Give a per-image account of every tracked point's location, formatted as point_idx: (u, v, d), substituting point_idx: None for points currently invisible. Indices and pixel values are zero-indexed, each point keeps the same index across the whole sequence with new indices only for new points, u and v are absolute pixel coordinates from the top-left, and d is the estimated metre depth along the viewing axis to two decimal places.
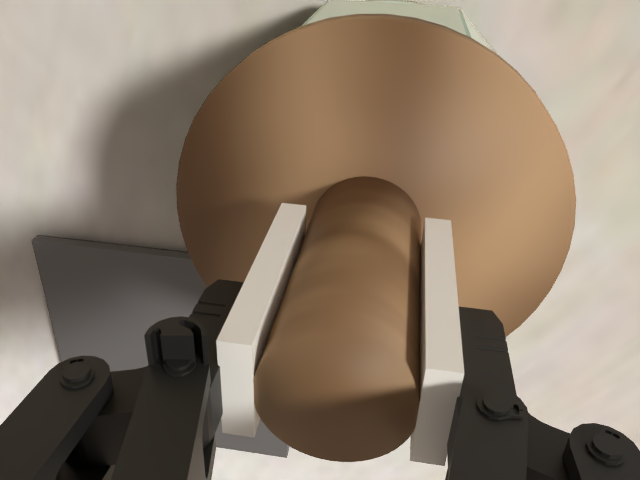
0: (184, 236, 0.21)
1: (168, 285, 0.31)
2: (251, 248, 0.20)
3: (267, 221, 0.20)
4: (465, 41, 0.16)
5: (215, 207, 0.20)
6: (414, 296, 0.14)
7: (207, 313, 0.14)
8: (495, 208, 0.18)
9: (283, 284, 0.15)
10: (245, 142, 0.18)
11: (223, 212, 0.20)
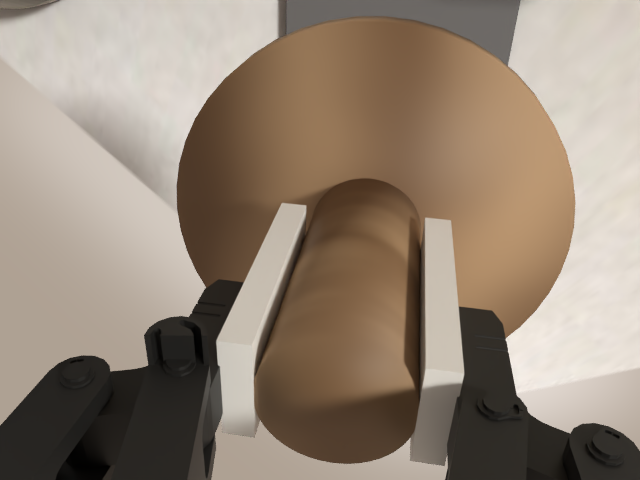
0: (184, 238, 0.21)
1: None
2: (251, 250, 0.20)
3: (267, 223, 0.20)
4: (464, 44, 0.16)
5: (215, 209, 0.20)
6: (414, 298, 0.14)
7: (207, 313, 0.14)
8: (494, 209, 0.18)
9: (283, 284, 0.15)
10: (245, 144, 0.19)
11: (223, 213, 0.20)
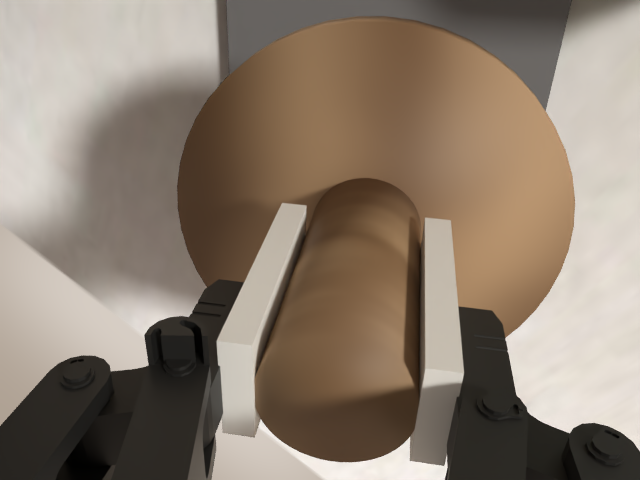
0: (185, 237, 0.21)
1: (401, 15, 0.24)
2: (251, 249, 0.21)
3: (267, 222, 0.20)
4: (464, 44, 0.16)
5: (216, 208, 0.20)
6: (414, 297, 0.14)
7: (207, 313, 0.14)
8: (494, 209, 0.18)
9: (283, 284, 0.15)
10: (245, 144, 0.19)
11: (223, 213, 0.20)
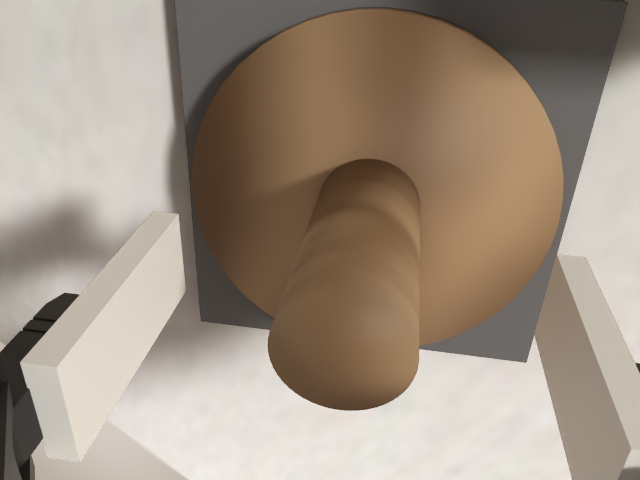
0: (198, 216, 0.22)
1: None
2: (261, 227, 0.22)
3: (276, 201, 0.21)
4: (460, 32, 0.17)
5: (228, 188, 0.21)
6: (413, 263, 0.16)
7: (38, 330, 0.13)
8: (489, 187, 0.20)
9: (132, 298, 0.14)
10: (256, 127, 0.20)
11: (235, 193, 0.21)
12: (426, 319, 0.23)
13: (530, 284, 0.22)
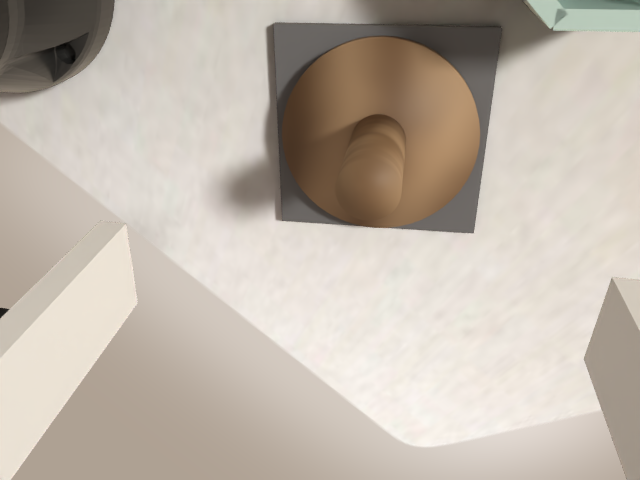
0: (285, 152, 0.40)
1: None
2: (319, 157, 0.40)
3: (328, 141, 0.39)
4: (420, 46, 0.35)
5: (301, 135, 0.39)
6: (400, 156, 0.34)
7: None
8: (441, 126, 0.37)
9: (67, 313, 0.14)
10: (317, 100, 0.38)
11: (305, 137, 0.39)
12: (413, 206, 0.40)
13: (470, 183, 0.40)
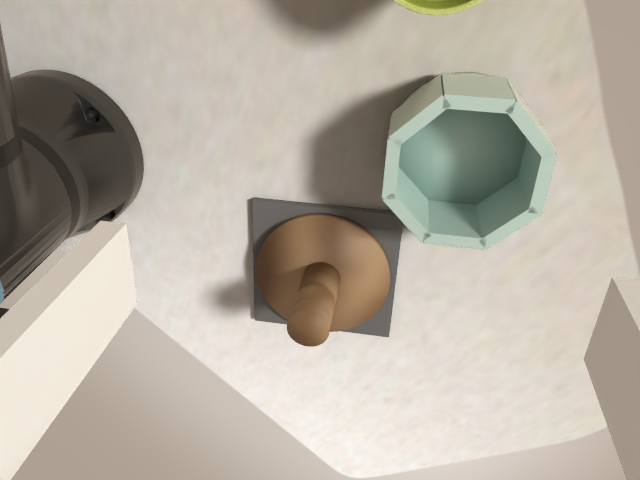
0: (257, 280, 0.57)
1: None
2: (281, 284, 0.57)
3: (287, 275, 0.57)
4: (349, 224, 0.53)
5: (269, 270, 0.57)
6: (331, 302, 0.51)
7: None
8: (364, 272, 0.55)
9: (67, 313, 0.14)
10: (281, 250, 0.55)
11: (272, 272, 0.57)
12: (346, 319, 0.58)
13: (385, 306, 0.58)
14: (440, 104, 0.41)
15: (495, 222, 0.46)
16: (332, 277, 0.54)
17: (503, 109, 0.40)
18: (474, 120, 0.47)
